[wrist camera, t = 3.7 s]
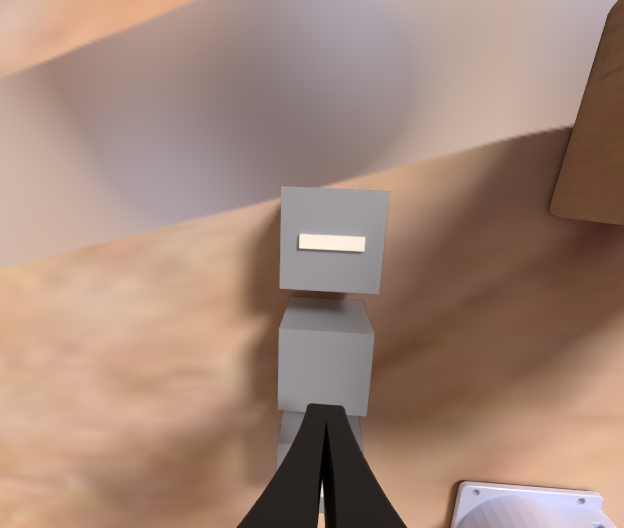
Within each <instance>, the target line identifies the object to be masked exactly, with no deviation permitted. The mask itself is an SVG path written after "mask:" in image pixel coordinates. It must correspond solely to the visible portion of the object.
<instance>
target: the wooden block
mask: <svg viewBox="0 0 624 528" xmlns="http://www.w3.org/2000/svg"><path fill="white" fill-rule="evenodd" d="M549 209H550V213H552V214H553V215H555V216H557V217H559V218H567V219H576V220H584V221H593V222H602V223H610V224H619V225H624V0H618V1H617V2H616V4H615V5H614V6H613V7H612V9H611V10H610V12H609V14H608V16H607V19H606V22H605V26H604V29H603V32H602V36H601V39H600V42H599V46H598V49H597V52H596V55H595V59H594V62H593V65H592V68H591V72H590V75H589V78H588V82H587V85H586V88H585V92H584V95H583V98H582V102H581V105H580V108H579V111H578V114H577V118H576V121H575V124H574V128H573V131H572V134H571V137H570V141H569V144H568V147H567V151H566V154H565V157H564V160H563V164H562V167H561V170H560V174H559V177H558V180H557V183H556V187H555V190H554V193H553V197H552V200H551V203H550V206H549Z"/></svg>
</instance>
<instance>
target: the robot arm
mask: <svg viewBox="0 0 624 528" xmlns="http://www.w3.org/2000/svg"><path fill="white" fill-rule="evenodd" d="M322 481H323V498H324V516H325V528H407V527H406V525H405V524H404V522H403V521H402V519H401V518H400V517H399V515H398V514H397V512H396V511H395V509H394V508H393V506H392V505H391V503H390V501H389V500H388V498H387V497H386V495H385V493H384V492H383V490H382V488H381V487H380V485H379V483H378V482H377V480H376V478H375V476H374V474H373V473H372V471H371V469H370V467H369V465H368V463H367V461H366V459H365V458H364V455H363V453H362V451H361V449H360V447H359V445H358V443H357V441H356V438H355V436H354V434H353V431H352V429H351V426H350V424H349V421H348V418H347V415H346V412H345V408H344V407H343V406H342V405H329V404H315V403H310V404H308V405H307V408H306V412H305V415H304V418H303V421H302V423H301V426H300V428H299V430H298V433H297V435H296V437H295V439H294V441H293V443H292V445H291V447H290V449H289V451H288V453H287V454H286V456H285V458H284V460H283V461H282V463H281V465H280V467H279V469H278V470H277V472H276V473H275V475H274V477H273V478H272V480H271V481H270V483H269V484H268V486H267V487H266V489H265V490H264V492H263V493H262V495H261V496H260V497H259V499H258V500H257V501H256V503H255V504H254V506H253V507H252V508H251V510H250V511H249V512H248V514H247V515H246V516H245V517H244V519H243V520H242V521H241V523H240V524H239V525H238V526H237V527H236V528H317V526H318V516H319V507H320V498H321V488H322ZM603 502H604V500H603V498H602V497H601V496H600V495H599V494H598V493H597V492H594V491H582V490H569V489H557V488H545V487H532V486H520V485H507V484H495V483H482V482H470V481H464V482H462V483H461V484H460V486H459V489H458V494H457V499H456V504H455V509H454V514H453V519H452V523H451V528H617V527H616V526H615V525H614V524H613V523H612V522H611V520H610V519H609V518H608V517H607V516H606V515H605V514H604V512H603V511H602V510H601V508H602V505H603Z"/></svg>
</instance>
